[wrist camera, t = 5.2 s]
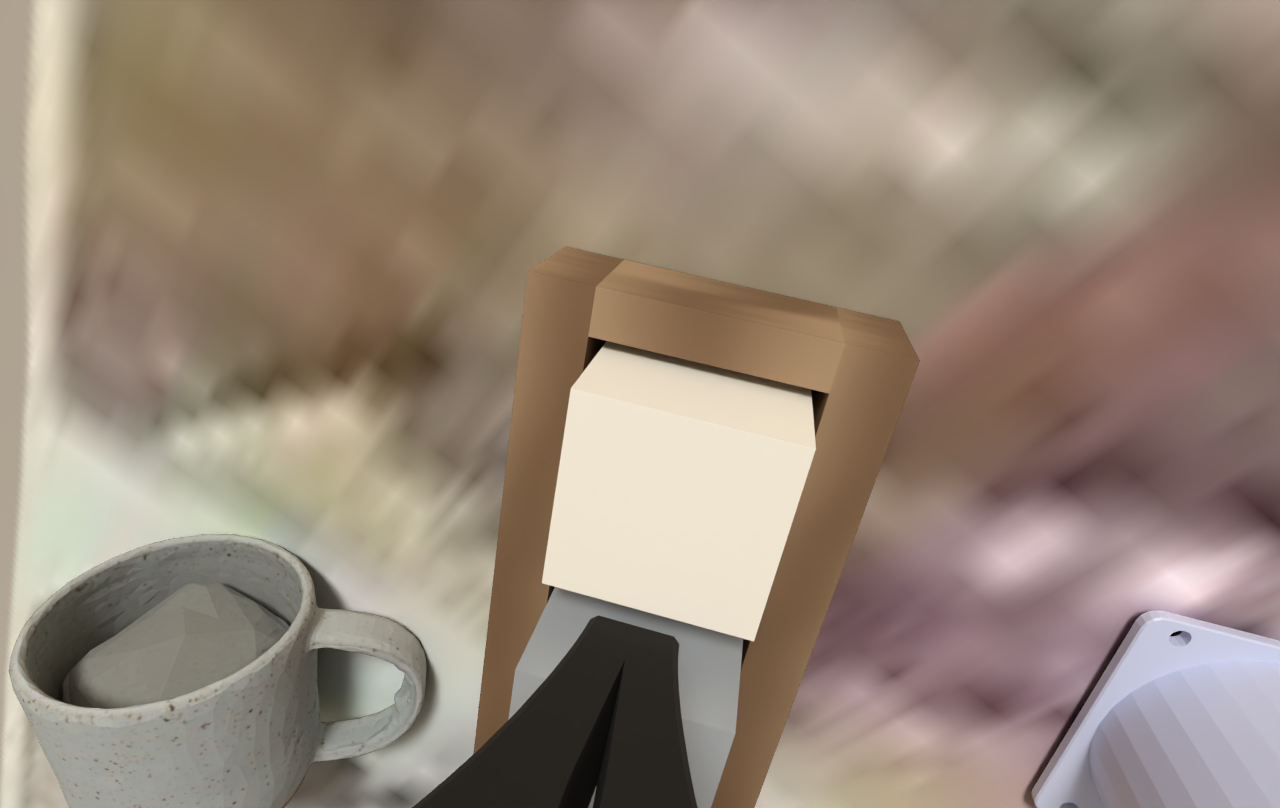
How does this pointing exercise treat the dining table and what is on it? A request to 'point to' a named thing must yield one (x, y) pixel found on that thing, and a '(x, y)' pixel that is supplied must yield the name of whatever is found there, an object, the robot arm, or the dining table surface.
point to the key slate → (701, 674)
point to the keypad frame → (726, 338)
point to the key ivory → (678, 487)
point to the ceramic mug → (198, 677)
